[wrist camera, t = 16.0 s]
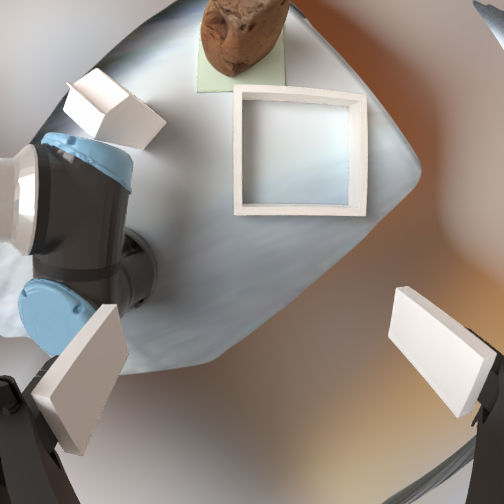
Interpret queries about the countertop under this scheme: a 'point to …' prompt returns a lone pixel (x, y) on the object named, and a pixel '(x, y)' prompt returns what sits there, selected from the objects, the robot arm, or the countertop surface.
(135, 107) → the milk
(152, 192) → the countertop surface
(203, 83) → the mat
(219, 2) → the brown rough stone
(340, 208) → the holder
